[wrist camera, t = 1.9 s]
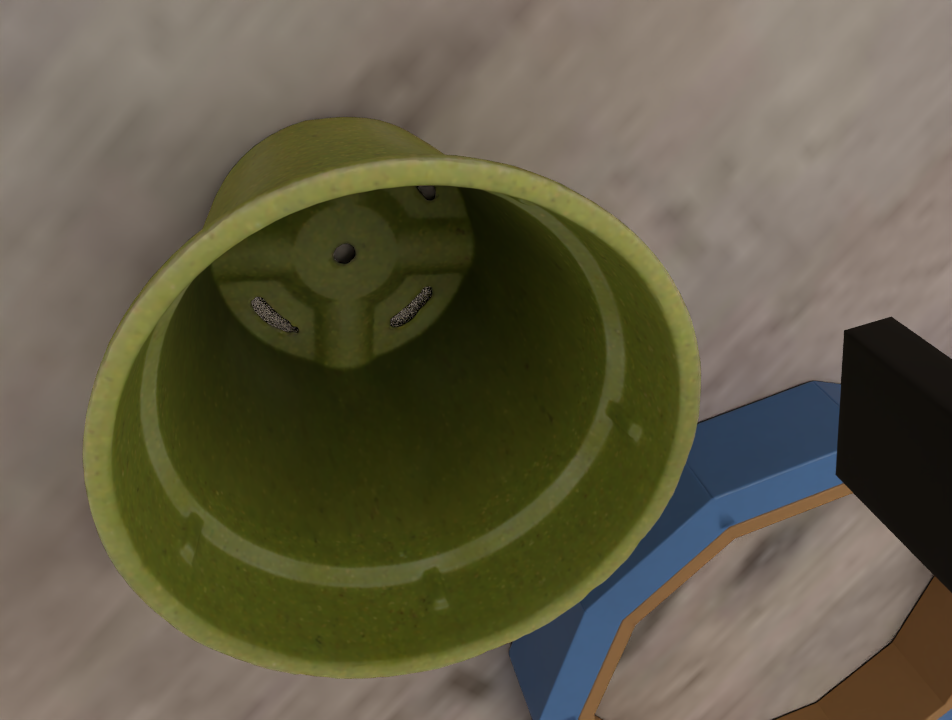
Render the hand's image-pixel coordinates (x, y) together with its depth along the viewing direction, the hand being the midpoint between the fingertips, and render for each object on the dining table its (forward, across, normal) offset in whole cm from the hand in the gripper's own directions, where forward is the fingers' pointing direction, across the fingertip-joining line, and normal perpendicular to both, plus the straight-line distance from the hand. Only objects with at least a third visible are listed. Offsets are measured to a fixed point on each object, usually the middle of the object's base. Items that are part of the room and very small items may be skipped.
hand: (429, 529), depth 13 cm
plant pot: (+10, 0, 0) cm, 10 cm away
